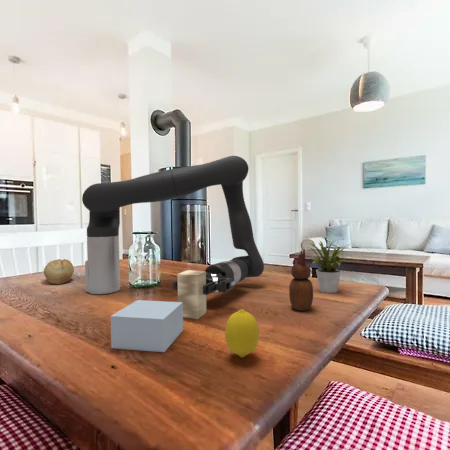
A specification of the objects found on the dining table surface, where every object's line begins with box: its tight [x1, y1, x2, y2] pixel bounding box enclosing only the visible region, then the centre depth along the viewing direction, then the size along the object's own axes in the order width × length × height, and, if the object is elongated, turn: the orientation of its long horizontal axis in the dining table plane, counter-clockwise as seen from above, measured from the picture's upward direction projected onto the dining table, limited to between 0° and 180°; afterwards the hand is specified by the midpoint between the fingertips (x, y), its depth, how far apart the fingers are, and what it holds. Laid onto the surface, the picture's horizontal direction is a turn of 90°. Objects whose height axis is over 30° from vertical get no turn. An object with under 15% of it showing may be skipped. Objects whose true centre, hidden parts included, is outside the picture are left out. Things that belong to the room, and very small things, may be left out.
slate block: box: [110, 299, 184, 353], centre depth 58 cm, size 10×10×6 cm
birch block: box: [176, 269, 207, 320], centre depth 71 cm, size 5×5×10 cm
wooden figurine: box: [288, 248, 314, 312], centre depth 75 cm, size 7×6×15 cm
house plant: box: [305, 239, 351, 294], centre depth 92 cm, size 14×14×16 cm
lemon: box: [224, 308, 260, 359], centre depth 50 cm, size 6×6×8 cm
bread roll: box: [43, 258, 75, 286], centre depth 109 cm, size 10×15×8 cm, turn 35°
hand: (188, 288), depth 70 cm, fingers open, 8 cm apart
